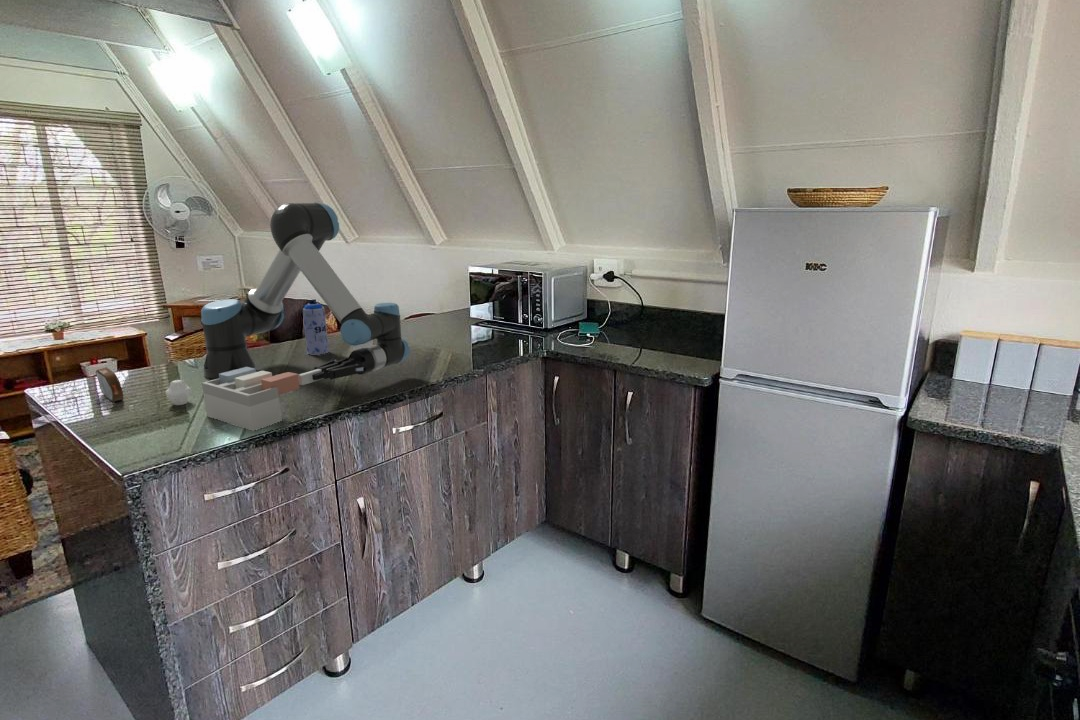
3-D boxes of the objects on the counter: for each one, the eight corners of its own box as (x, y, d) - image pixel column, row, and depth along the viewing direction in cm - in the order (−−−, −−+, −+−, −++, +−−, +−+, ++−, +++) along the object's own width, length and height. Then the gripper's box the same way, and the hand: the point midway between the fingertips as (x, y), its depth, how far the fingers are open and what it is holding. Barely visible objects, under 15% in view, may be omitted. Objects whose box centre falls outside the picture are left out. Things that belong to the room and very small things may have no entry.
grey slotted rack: (207, 416, 155) (201, 382, 152) (235, 407, 161) (231, 375, 159) (253, 431, 145) (248, 395, 142) (281, 421, 151) (277, 387, 149)
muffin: (197, 399, 167) (194, 376, 165) (184, 407, 161) (180, 383, 160) (176, 399, 168) (172, 376, 166) (162, 407, 162) (158, 382, 160)
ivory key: (236, 392, 152) (234, 378, 151) (264, 384, 159) (262, 370, 158) (245, 395, 150) (243, 380, 149) (273, 387, 157) (271, 372, 156)
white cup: (368, 356, 213) (366, 329, 210) (348, 355, 215) (345, 328, 212) (378, 351, 221) (376, 325, 218) (358, 350, 222) (356, 324, 219)
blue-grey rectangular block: (220, 388, 156) (218, 373, 155) (248, 380, 162) (246, 366, 161) (229, 390, 154) (227, 376, 153) (257, 382, 160) (255, 368, 159)
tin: (126, 402, 165) (120, 374, 163) (112, 405, 163) (106, 376, 161) (111, 391, 175) (105, 364, 173) (98, 394, 173) (92, 366, 170)
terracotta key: (262, 394, 151) (261, 379, 150) (290, 386, 158) (288, 371, 157) (272, 396, 149) (270, 381, 148) (299, 388, 156) (298, 374, 155)
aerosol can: (314, 356, 213) (308, 302, 207) (302, 353, 217) (296, 299, 212) (333, 352, 219) (328, 299, 213) (321, 349, 223) (316, 297, 218)
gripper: (383, 375, 175) (317, 397, 155) (352, 368, 181) (286, 389, 162) (381, 350, 173) (314, 370, 153) (350, 345, 179) (283, 363, 160)
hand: (300, 379), depth 157 cm, fingers closed
